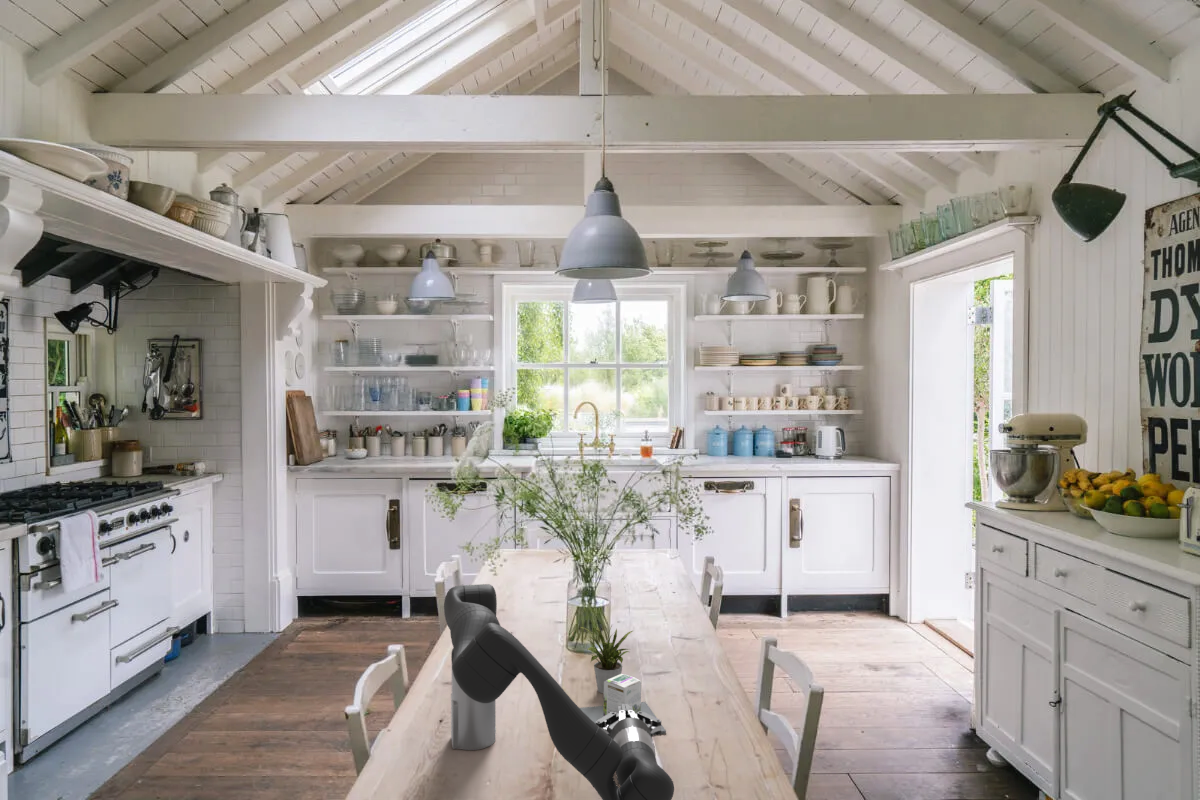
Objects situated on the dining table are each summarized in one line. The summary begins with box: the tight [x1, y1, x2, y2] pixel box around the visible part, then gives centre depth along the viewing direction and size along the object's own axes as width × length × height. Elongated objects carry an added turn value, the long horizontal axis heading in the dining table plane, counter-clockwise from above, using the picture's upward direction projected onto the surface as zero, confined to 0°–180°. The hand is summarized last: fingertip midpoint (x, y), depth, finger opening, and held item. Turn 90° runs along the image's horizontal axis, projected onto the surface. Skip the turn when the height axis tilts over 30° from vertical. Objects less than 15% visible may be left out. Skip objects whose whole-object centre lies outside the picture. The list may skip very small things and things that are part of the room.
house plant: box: [580, 625, 634, 695], centre depth 198 cm, size 14×14×16 cm
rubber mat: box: [579, 701, 667, 736], centre depth 180 cm, size 20×16×1 cm
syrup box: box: [603, 673, 642, 717], centre depth 167 cm, size 6×6×14 cm
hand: (624, 708), depth 158 cm, fingers closed
